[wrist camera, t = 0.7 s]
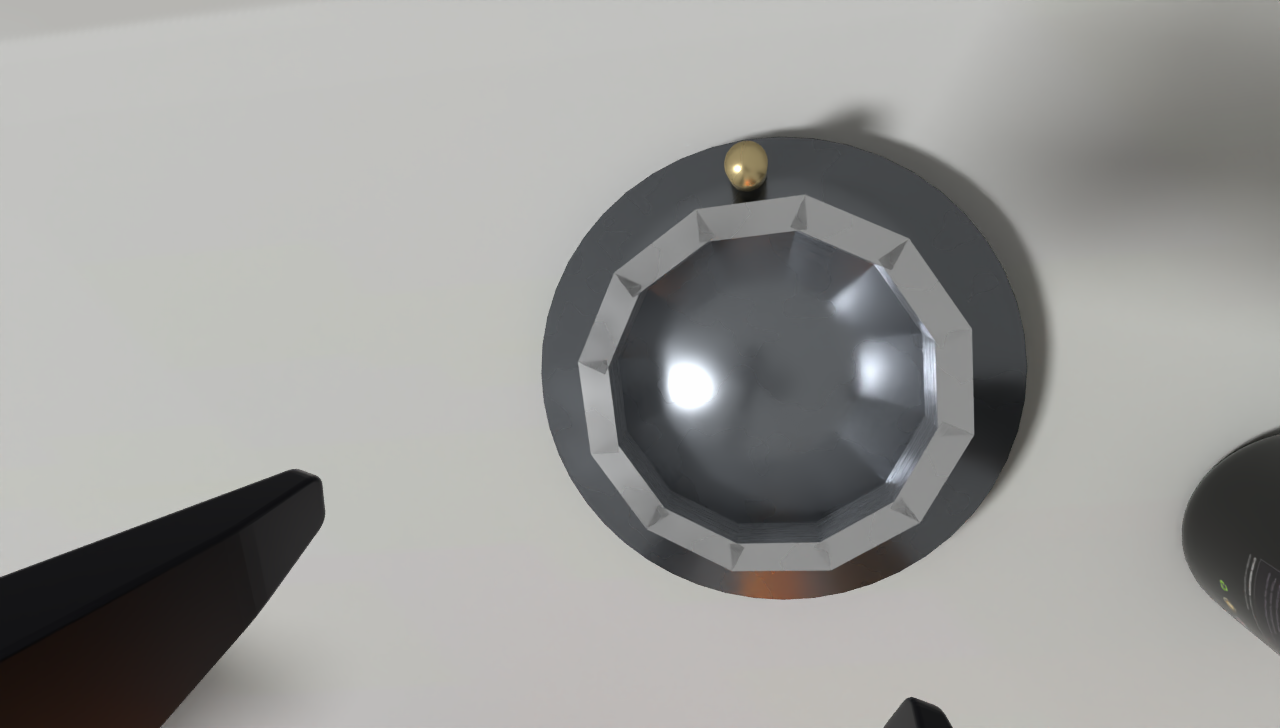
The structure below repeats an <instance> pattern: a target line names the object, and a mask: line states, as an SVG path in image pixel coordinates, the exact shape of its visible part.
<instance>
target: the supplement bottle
mask: <svg viewBox="0 0 1280 728" xmlns="http://www.w3.org/2000/svg"><path fill="white" fill-rule="evenodd" d="M1182 544H1183V551H1184V554H1185V558H1186V561H1187V563H1188V566H1189V568H1190V570H1191V572H1192V574H1193V575H1194V577H1195V579H1196V580H1197V582H1198V583H1199V584H1200V586H1201V587H1202V588H1203V589H1204V591H1205V592H1206V593H1207V594H1208V595H1209V596H1210V597H1211V598H1212V599H1213V600H1214V601H1215V602H1216V603H1218V604H1219V605H1220V606H1221V607H1222V608H1223V609H1224V610H1226V611H1227V612H1228V613H1229V614H1230V615H1231V616H1233V617H1234V618H1235V619H1236V620H1237V621H1238V622H1239V623H1241V624H1242V625H1243V626H1244V627H1246V628H1247V629H1248V630H1249V631H1250V632H1252V633H1253V634H1254V635H1255V636H1256V637H1258V638H1259V639H1260V640H1261V641H1263V642H1264V643H1265V644H1266V645H1267V646H1269V647H1270V648H1271V649H1272V650H1273V651H1275V652H1276V653H1277V654H1278V655H1280V434H1277V435H1274V436H1270V437H1267V438H1264V439H1261V440H1259V441H1256V442H1254V443H1251V444H1249V445H1247V446H1245V447H1243V448H1241V449H1239V450H1238V451H1236V452H1234V453H1233V454H1231V455H1229V456H1228V457H1227V458H1225V459H1224V460H1222V461H1221V462H1220V463H1219V464H1218V465H1216V466H1215V467H1214V468H1213V469H1212V470H1211V471H1210V472H1209V473H1208V474H1207V475H1206V476H1205V477H1204V478H1203V480H1202V481H1201V482H1200V483H1199V485H1198V486H1197V488H1196V489H1195V491H1194V493H1193V494H1192V496H1191V498H1190V500H1189V502H1188V505H1187V508H1186V510H1185V514H1184V518H1183V524H1182Z"/></svg>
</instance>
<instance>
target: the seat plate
mask: <svg viewBox="0 0 1280 728" xmlns="http://www.w3.org/2000/svg"><path fill="white" fill-rule="evenodd" d="M1026 374H1027V361H1026V349H1025V336H1024V331H1023V326H1022V322H1021V318H1020V314H1019V309H1018V305H1017V301H1016V299H1015V296H1014V294H1013V291H1012V289H1011V286H1010V284H1009V281H1008V279H1007V276H1006V274H1005V271H1004V269H1003V268H1002V266H1001V264H1000V262H999V261H998V259H997V257H996V256H995V254H994V252H993V250H992V249H991V247H990V245H989V244H988V242H987V240H986V239H985V238H984V237H983V235H982V234H981V233H980V232H979V231H978V229H977V228H976V227H975V226H974V224H973V223H972V222H971V221H970V219H969V218H968V217H967V216H966V214H965V213H963V212H962V211H961V210H960V209H959V208H958V207H957V206H956V205H955V204H954V203H953V202H952V201H950V200H949V199H948V198H947V197H946V196H945V195H944V194H943V193H942V192H941V191H939V190H938V189H937V188H935V187H934V186H932V185H931V184H929V183H928V182H926V181H925V180H924V179H922V178H921V177H919V176H918V175H916V174H915V173H913V172H912V171H910V170H908V169H906V168H904V167H902V166H900V165H898V164H896V163H894V162H892V161H890V160H888V159H886V158H884V157H882V156H879V155H876V154H873V153H870V152H867V151H864V150H861V149H858V148H855V147H852V146H849V145H845V144H840V143H835V142H829V141H824V140H818V139H812V138H791V137H773V138H761V139H750V140H742V141H738V142H734V143H729V144H725V145H720V146H716V147H712V148H709V149H706V150H704V151H701V152H698V153H695V154H693V155H690V156H687V157H685V158H682V159H680V160H678V161H676V162H674V163H672V164H670V165H668V166H667V167H665V168H663V169H661V170H659V171H657V172H655V173H653V174H652V175H650V176H649V177H647V178H646V179H645V180H643V181H642V182H640V183H639V184H638V185H636V186H635V187H633V188H632V189H631V190H629V191H628V192H626V193H625V194H624V195H623V196H622V197H621V198H620V199H619V200H618V201H617V202H616V203H615V204H613V205H612V206H611V207H610V208H609V209H608V210H607V211H606V212H605V213H604V214H603V215H602V216H601V217H600V219H599V220H598V221H597V222H596V223H595V225H594V226H593V227H592V228H591V229H590V231H589V232H588V233H587V234H586V236H585V237H584V238H583V240H582V241H581V243H580V245H579V246H578V248H577V249H576V251H575V253H574V254H573V256H572V257H571V259H570V261H569V262H568V264H567V266H566V269H565V271H564V273H563V275H562V277H561V279H560V282H559V284H558V286H557V288H556V291H555V294H554V297H553V301H552V304H551V307H550V310H549V314H548V317H547V323H546V328H545V334H544V340H543V349H542V385H543V396H544V404H545V409H546V413H547V418H548V422H549V427H550V430H551V433H552V436H553V439H554V442H555V445H556V447H557V450H558V453H559V456H560V458H561V460H562V462H563V464H564V466H565V468H566V470H567V472H568V474H569V476H570V478H571V480H572V481H573V483H574V484H575V486H576V487H577V489H578V490H579V492H580V493H581V495H582V496H583V498H584V499H585V501H586V502H587V504H588V505H589V506H590V507H591V508H592V510H593V511H594V512H595V513H596V514H597V515H598V517H599V518H600V519H601V520H602V521H603V523H604V524H605V525H606V526H607V527H609V528H610V529H611V530H612V531H613V532H614V533H615V534H616V535H617V536H618V537H619V538H620V539H621V540H622V541H624V542H625V543H626V544H627V545H629V546H630V547H631V548H633V549H634V550H635V551H637V552H638V553H639V554H641V555H642V556H644V557H645V558H646V559H648V560H649V561H651V562H653V563H655V564H656V565H658V566H660V567H662V568H663V569H665V570H667V571H669V572H670V573H672V574H675V575H677V576H679V577H682V578H684V579H686V580H689V581H691V582H693V583H696V584H698V585H701V586H705V587H708V588H711V589H715V590H718V591H722V592H725V593H730V594H736V595H741V596H747V597H753V598H766V599H783V600H785V599H803V598H816V597H821V596H827V595H833V594H838V593H844V592H847V591H850V590H854V589H857V588H860V587H863V586H867V585H870V584H873V583H875V582H877V581H880V580H882V579H884V578H887V577H889V576H891V575H893V574H896V573H898V572H900V571H902V570H903V569H905V568H907V567H908V566H910V565H912V564H913V563H915V562H917V561H918V560H920V559H922V558H923V557H925V556H927V555H928V554H929V553H930V552H932V551H933V550H934V549H936V548H937V547H938V546H939V545H941V544H942V543H943V542H944V541H946V540H947V539H948V538H950V537H951V536H952V535H953V534H954V533H955V532H956V531H957V530H958V529H959V528H960V527H961V526H962V524H963V523H964V522H965V521H966V520H967V519H968V518H969V517H970V516H971V515H972V514H973V513H974V512H975V510H976V509H977V508H978V506H979V505H980V503H981V502H982V501H983V499H984V498H985V497H986V495H987V494H988V493H989V491H990V490H991V489H992V487H993V485H994V483H995V481H996V479H997V478H998V476H999V474H1000V472H1001V470H1002V468H1003V467H1004V465H1005V463H1006V461H1007V459H1008V456H1009V453H1010V451H1011V448H1012V445H1013V443H1014V440H1015V437H1016V435H1017V432H1018V428H1019V423H1020V419H1021V414H1022V410H1023V405H1024V401H1025V388H1026Z"/></svg>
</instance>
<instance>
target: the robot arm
mask: <svg viewBox="0 0 1280 728" xmlns="http://www.w3.org/2000/svg"><path fill="white" fill-rule="evenodd" d="M324 518H325V505H324V496H323V486H322V481H321V479H320V478H319V477H318V476H316V475H313V474H311V473H308V472H305V471H302V470H299V469H292V470H288V471H285V472H282V473H280V474H277V475H274V476H271V477H269V478H266V479H263V480H261V481H258V482H255V483H253V484H250V485H247V486H245V487H242V488H239V489H236V490H234V491H231V492H228V493H226V494H223V495H220V496H218V497H215V498H212V499H210V500H207V501H204V502H201V503H199V504H196V505H193V506H191V507H188V508H185V509H183V510H180V511H177V512H175V513H172V514H169V515H166V516H164V517H161V518H158V519H156V520H153V521H150V522H148V523H145V524H142V525H140V526H137V527H134V528H131V529H129V530H126V531H123V532H121V533H118V534H115V535H113V536H110V537H107V538H104V539H102V540H99V541H96V542H94V543H91V544H88V545H86V546H83V547H80V548H78V549H75V550H72V551H69V552H67V553H64V554H61V555H59V556H56V557H53V558H51V559H48V560H45V561H43V562H40V563H37V564H34V565H32V566H29V567H26V568H24V569H21V570H18V571H16V572H13V573H10V574H8V575H5V576H2V577H0V728H160V727H161V726H162V725H163V723H164V722H165V721H166V720H167V719H168V718H169V717H170V715H171V714H172V713H173V712H174V711H175V710H176V709H177V707H178V706H179V705H180V704H181V703H182V702H183V701H184V699H185V698H186V697H187V696H188V695H189V694H190V693H191V691H192V690H193V689H194V688H195V687H196V686H197V684H198V683H199V682H200V681H201V680H202V679H203V678H204V676H205V675H206V674H207V673H208V672H209V671H210V670H211V668H212V667H213V666H214V665H215V664H216V663H217V662H218V660H219V659H220V658H221V657H222V656H223V655H224V654H225V652H226V651H227V650H228V649H229V648H230V647H231V645H232V644H233V643H234V642H235V641H236V640H237V639H238V637H239V636H240V635H241V634H242V633H243V632H244V631H245V629H246V628H247V627H248V626H249V625H250V623H251V622H252V621H253V620H254V619H255V617H256V616H257V615H258V614H259V612H260V611H261V610H262V608H263V607H264V606H265V605H266V603H267V602H268V601H269V599H270V598H271V596H272V595H273V594H274V592H275V591H276V589H277V588H278V587H279V585H280V584H281V582H282V581H283V580H284V578H285V577H286V575H287V574H288V573H289V571H290V570H291V568H292V567H293V566H294V564H295V563H296V562H297V560H298V559H299V557H300V556H301V555H302V553H303V552H304V550H305V549H306V548H307V546H308V545H309V543H310V542H311V541H312V539H313V538H314V536H315V535H316V534H317V532H318V531H319V529H320V528H321V526H322V524H323V521H324ZM884 728H953V727H952V726H951V724H950V722H949V720H948V719H947V717H946V715H945V714H944V712H943V711H942V710H941V709H940V708H939V707H937V706H935V705H933V704H930V703H927V702H925V701H922V700H919V699H917V698H913V697H910V698H907V699H906V700H905V701H904V702H903V703H902V704H901V705H900V707H899V708H898V709H897V710H896V712H895V713H894V714H893V716H892V717H891V718H890V719H889V721H888V722H887V723H886V725H885V726H884Z"/></svg>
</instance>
